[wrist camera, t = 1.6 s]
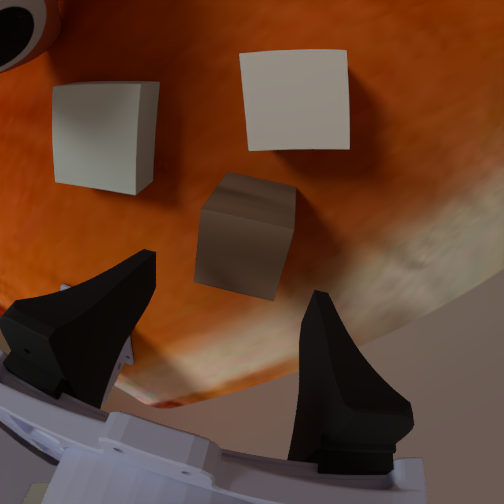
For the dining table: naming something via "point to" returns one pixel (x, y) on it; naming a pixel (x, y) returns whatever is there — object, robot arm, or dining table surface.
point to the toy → (26, 30)
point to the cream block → (296, 99)
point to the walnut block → (245, 235)
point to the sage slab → (105, 134)
